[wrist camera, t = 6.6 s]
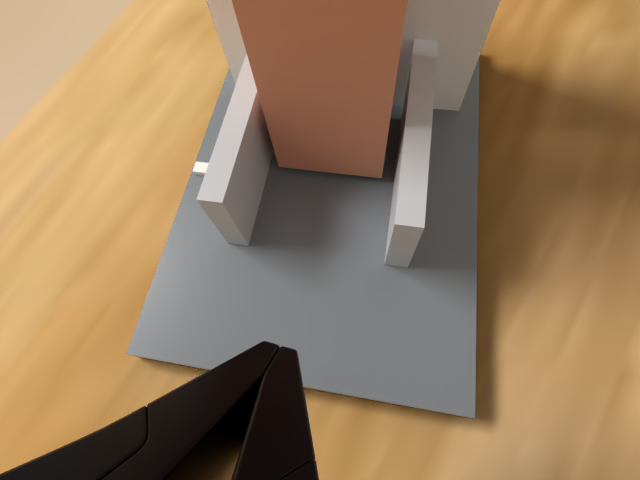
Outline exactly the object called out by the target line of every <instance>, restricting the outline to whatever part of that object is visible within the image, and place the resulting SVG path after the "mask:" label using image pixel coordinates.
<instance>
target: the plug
mask: <svg viewBox="0 0 640 480" xmlns="http://www.w3.org/2000/svg"><path fill="white" fill-rule="evenodd" d="M407 2H408V0H232V4H233V7H234V11H235V14H236V18H237V21H238V25H239V28H240V32H241V35H242V39H243V42H244V46H245V49H246V53H247V56H248V60H249V64H250V67H251V71H252V74H253V78H254V81H255V85H256V88H257V92H258V95H259V99H260V102H261V106H262V109H263V113H264V116H265V120H266V123H267V127H268V130H269V134H270V137H271V141H272V144H273V148H274V152H275V155H276V159H277V162H278V166H279V167H283V168H293V169H302V170H311V171H320V172H329V173H338V174H347V175H357V176H366V177H375V178H382V172H383V166H384V159H385V152H386V145H387V138H388V132H389V125H390V118H391V111H392V104H393V98H394V91H395V84H396V77H397V70H398V64H399V57H400V50H401V43H402V36H403V30H404V23H405V16H406V9H407Z"/></svg>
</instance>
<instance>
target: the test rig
mask: <svg viewBox="0 0 640 480" xmlns="http://www.w3.org/2000/svg"><path fill="white" fill-rule="evenodd" d="M206 2H207V4H208V7H209V10H210V13H211V16H212V19H213V22H214V25H215V28H216V30H217V33H218V36H219V39H220V42H221V45H222V48H223V51H224V54H225V56H226V59H227V62H228V65H229V70H228V73H227V75H226V78H225V81H224V84H223V87H222V89H221V92H220V95H219V98H218V100H217V103H216V106H215V109H214V111H213V114H212V117H211V120H210V123H209V125H208V128H207V131H206V134H205V136H204V139H203V142H202V145H201V148H200V150H199V153H198V156H197V159H196V161H195V164H194V167H193V170H192V173H191V175H190V178H189V181H188V184H187V186H186V189H185V192H184V195H183V197H182V200H181V203H180V206H179V209H178V211H177V214H176V217H175V220H174V222H173V225H172V228H171V231H170V234H169V236H168V239H167V242H166V245H165V247H164V250H163V253H162V256H161V259H160V261H159V264H158V267H157V270H156V272H155V275H154V278H153V281H152V284H151V286H150V289H149V292H148V295H147V297H146V300H145V303H144V306H143V308H142V311H141V314H140V317H139V320H138V322H137V325H136V328H135V331H134V333H133V336H132V339H131V342H130V345H129V347H128V350H127V353H126V354H128V355H132V356H136V357H140V358H146V359H151V360H157V361H162V362H168V363H173V364H178V365H184V366H189V367H195V368H200V369H206V370H211V369H213V368H215V367H216V366H218V365H220V364H222V363H224V362H226V361H227V360H229V359H231V358H233V357H235V356H236V355H238V354H240V353H242V352H244V351H246V350H247V349H249V348H251V347H253V346H255V345H256V344H258V343H260V342H262V341H268V342H271V343H274V344H278V345H279V347H281V346H285V347H288V348H292V349H295V350H297V352H298V357H299V363H300V369H301V375H302V381H303V387H304V388H309V389H314V390H319V391H325V392H330V393H336V394H341V395H347V396H352V397H357V398H363V399H368V400H374V401H379V402H385V403H390V404H395V405H401V406H406V407H412V408H417V409H422V410H428V411H433V412H439V413H444V414H450V415H455V416H460V417H466V418H475V386H476V306H477V225H478V145H479V65H480V53H481V50H482V48H483V45H484V42H485V40H486V37H487V34H488V32H489V29H490V26H491V24H492V21H493V18H494V15H495V13H496V10H497V7H498V5H499V2H500V0H408V2H407V9H406V16H405V23H404V30H403V36H402V43H401V50H400V57H399V64H398V70H397V77H396V84H395V91H394V98H393V104H392V111H391V118H390V125H389V132H388V138H387V145H386V152H385V159H384V166H383V172H382V178H375V177H366V176H357V175H347V174H338V173H329V172H320V171H311V170H302V169H293V168H283V167H279V166H278V162H277V159H276V155H275V152H274V148H273V144H272V141H271V137H270V134H269V130H268V127H267V123H266V120H265V116H264V113H263V109H262V106H261V102H260V99H259V95H258V92H257V88H256V85H255V81H254V78H253V74H252V71H251V67H250V64H249V60H248V56H247V53H246V49H245V46H244V42H243V39H242V35H241V32H240V28H239V25H238V21H237V18H236V14H235V11H234V7H233V4H232V0H206Z"/></svg>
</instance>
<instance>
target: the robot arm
mask: <svg viewBox="0 0 640 480" xmlns="http://www.w3.org/2000/svg"><path fill="white" fill-rule="evenodd" d="M231 478H232V479H231ZM0 480H319V477H318V471H317V465H316V461H315V454H314V448H313V442H312V436H311V430H310V424H309V418H308V412H307V406H306V400H305V394H304V387H303V381H302V375H301V369H300V363H299V357H298V352H297V350H295V349H292V348H288V347H285V346H281V347H279V345H278V344H274V343H271V342H268V341H262V342H260V343H258V344H256V345H255V346H253V347H251V348H249V349H247V350H246V351H244V352H242V353H240V354H238V355H236V356H235V357H233V358H231V359H229V360H227V361H226V362H224V363H222V364H220V365H218V366H216V367H215V368H213V369H211V370H209V371H207V372H205V373H204V374H202V375H200V376H198V377H196V378H195V379H193V380H191V381H189V382H187V383H185V384H184V385H182V386H180V387H178V388H176V389H175V390H173V391H171V392H169V393H167V394H165V395H164V396H162V397H160V398H158V399H156V400H155V401H153V402H151V403H149V404H148V405H147V407H146V406H143V407H141V408H140V409H138V410H136V411H134V412H132V413H131V414H129V415H127V416H125V417H123V418H121V419H119V420H117V421H115V422H113V423H111V424H109V425H108V426H106V427H104V428H102V429H100V430H97V431H95V432H93V433H91V434H89V435H87V436H85V437H82V438H80V439H78V440H76V441H74V442H72V443H70V444H67V445H65V446H63V447H60V448H58V449H56V450H54V451H51V452H49V453H47V454H45V455H42V456H40V457H38V458H36V459H33V460H31V461H29V462H27V463H24V464H22V465H20V466H18V467H15V468H13V469H11V470H8V471H6V472H4V473H2V474H0Z"/></svg>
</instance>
